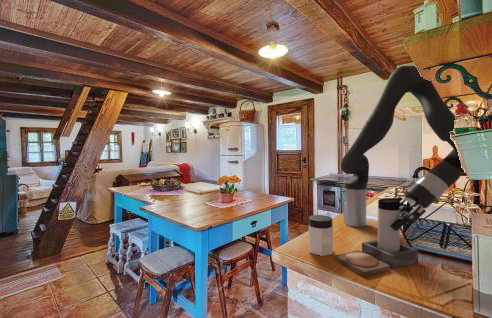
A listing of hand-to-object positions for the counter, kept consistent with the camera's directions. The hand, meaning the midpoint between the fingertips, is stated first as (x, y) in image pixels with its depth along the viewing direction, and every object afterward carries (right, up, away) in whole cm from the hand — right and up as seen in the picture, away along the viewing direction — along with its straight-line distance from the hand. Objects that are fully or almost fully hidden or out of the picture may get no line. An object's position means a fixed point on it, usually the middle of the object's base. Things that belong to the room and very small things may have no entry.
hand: (387, 224), depth 82 cm
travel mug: (+1, -11, 0) cm, 11 cm away
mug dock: (-5, -11, -2) cm, 13 cm away
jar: (-20, -12, +7) cm, 24 cm away
